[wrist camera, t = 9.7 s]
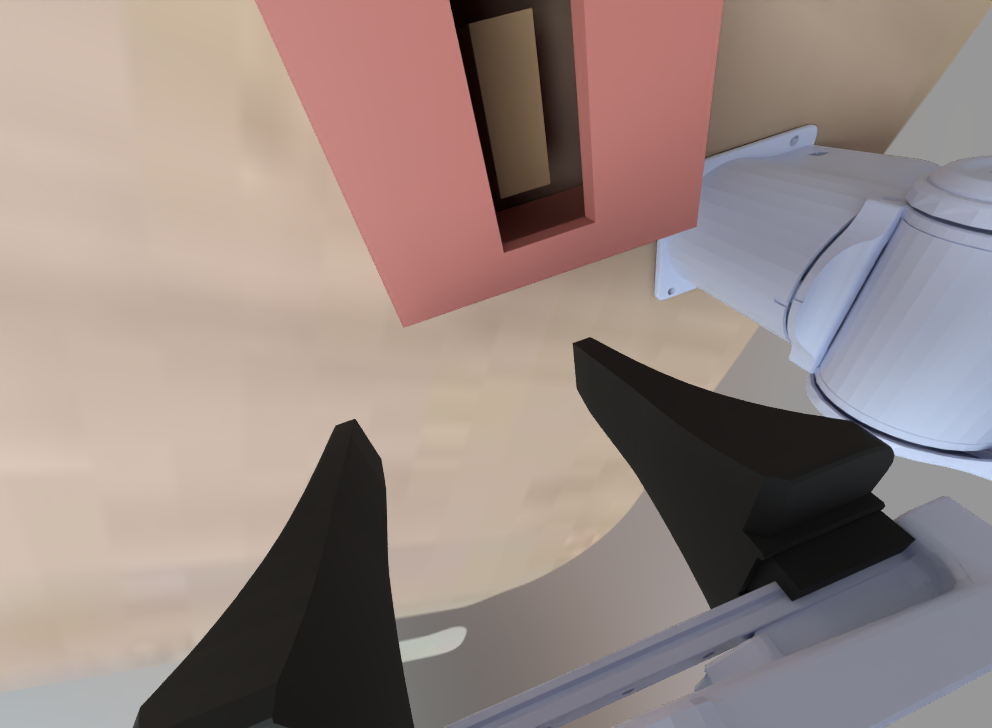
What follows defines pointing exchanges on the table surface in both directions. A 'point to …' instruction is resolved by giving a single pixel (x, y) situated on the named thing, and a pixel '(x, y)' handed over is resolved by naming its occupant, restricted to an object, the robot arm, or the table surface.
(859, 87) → the table surface
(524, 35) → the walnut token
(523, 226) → the money box
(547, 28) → the table surface
